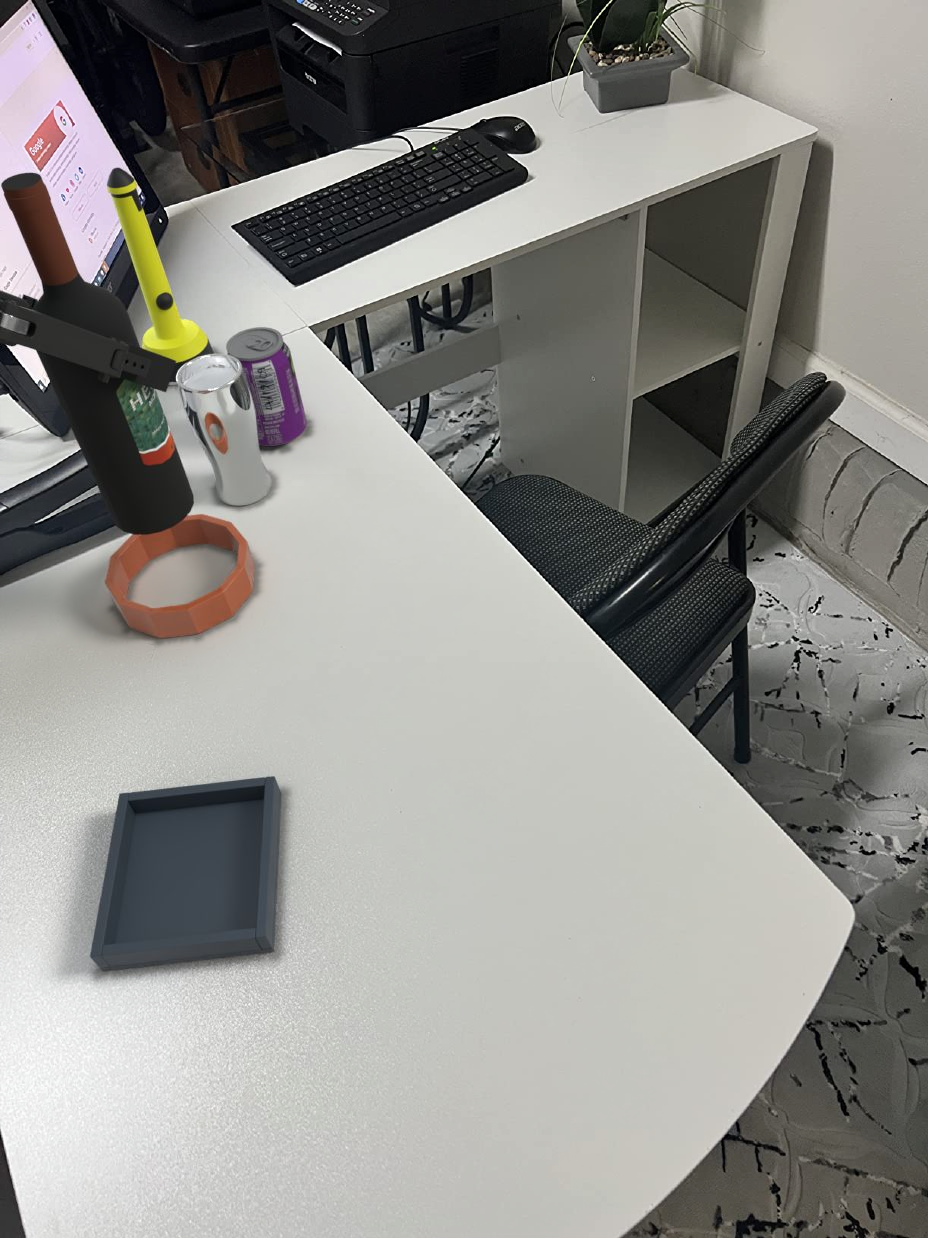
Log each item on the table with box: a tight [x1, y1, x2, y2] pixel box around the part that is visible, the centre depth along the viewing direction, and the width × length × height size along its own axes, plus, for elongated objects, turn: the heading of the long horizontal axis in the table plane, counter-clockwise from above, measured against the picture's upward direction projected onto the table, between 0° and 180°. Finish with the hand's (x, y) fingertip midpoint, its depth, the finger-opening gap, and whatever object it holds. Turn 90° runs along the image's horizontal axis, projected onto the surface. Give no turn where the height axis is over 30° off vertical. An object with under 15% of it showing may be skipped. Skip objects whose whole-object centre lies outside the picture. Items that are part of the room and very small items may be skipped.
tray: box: [89, 775, 282, 972], centre depth 74 cm, size 13×14×3 cm
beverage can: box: [225, 326, 308, 447], centre depth 109 cm, size 7×7×12 cm
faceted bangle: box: [104, 513, 256, 639], centre depth 96 cm, size 14×14×4 cm
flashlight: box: [106, 167, 215, 386], centre depth 115 cm, size 25×9×9 cm
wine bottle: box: [0, 172, 195, 535], centre depth 78 cm, size 8×8×30 cm
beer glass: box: [176, 353, 273, 507], centre depth 101 cm, size 7×7×15 cm
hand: (133, 361), depth 81 cm, fingers closed on wine bottle, 7 cm apart
